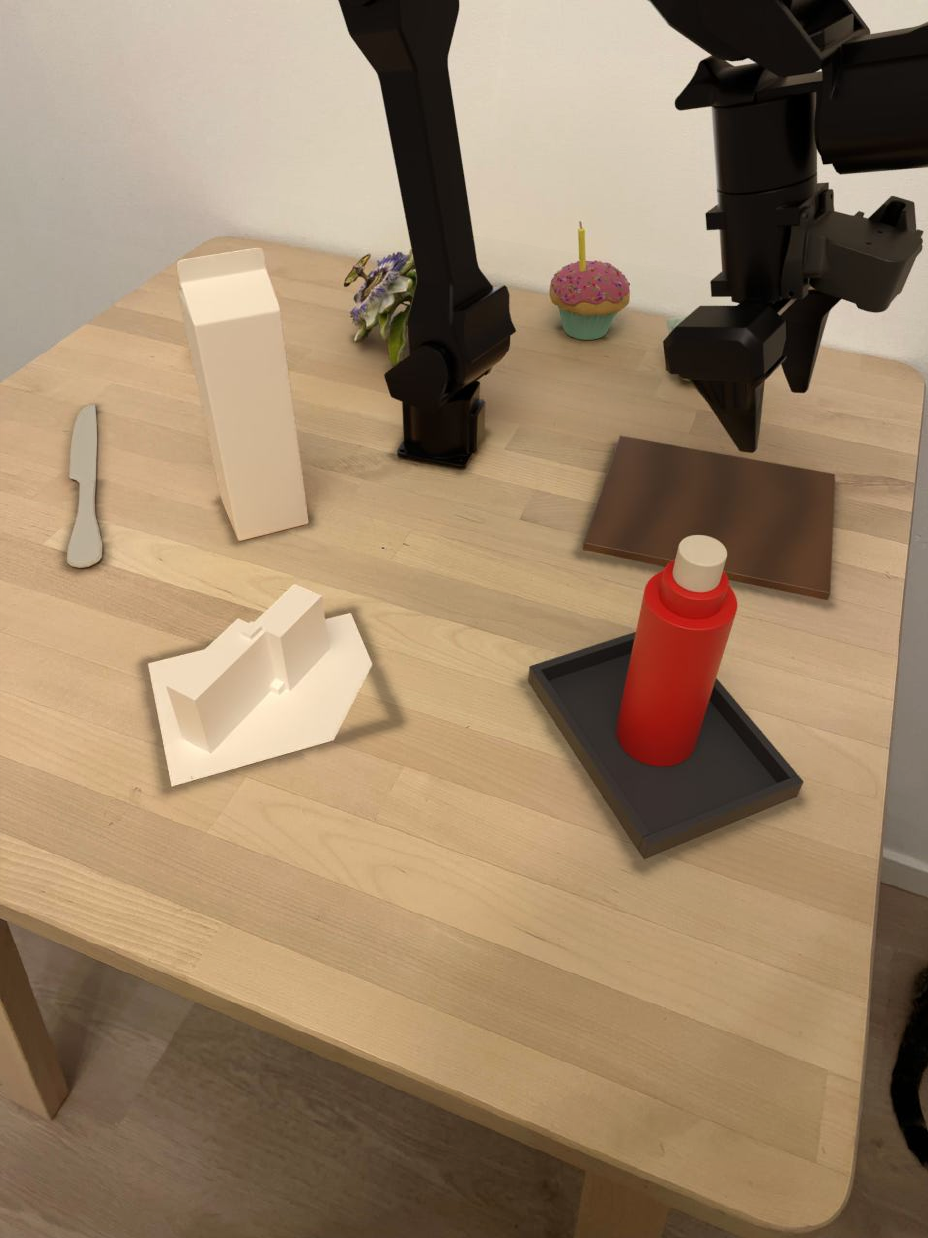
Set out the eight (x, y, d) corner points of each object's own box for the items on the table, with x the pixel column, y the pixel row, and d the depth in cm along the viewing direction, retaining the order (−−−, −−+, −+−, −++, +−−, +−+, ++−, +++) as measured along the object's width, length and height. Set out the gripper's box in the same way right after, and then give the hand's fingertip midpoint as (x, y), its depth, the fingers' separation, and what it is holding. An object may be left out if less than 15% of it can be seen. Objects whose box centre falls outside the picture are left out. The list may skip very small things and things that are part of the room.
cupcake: (572, 355, 98) (584, 241, 89) (531, 320, 103) (539, 209, 95) (640, 337, 101) (657, 225, 92) (596, 304, 106) (609, 196, 97)
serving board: (581, 554, 75) (583, 542, 74) (618, 446, 86) (619, 435, 85) (825, 604, 71) (830, 593, 70) (831, 484, 82) (835, 473, 81)
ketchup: (609, 755, 60) (647, 570, 49) (623, 697, 64) (661, 511, 52) (690, 776, 59) (747, 591, 48) (700, 715, 63) (756, 529, 51)
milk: (309, 524, 77) (277, 265, 62) (237, 542, 75) (185, 280, 60) (289, 483, 81) (253, 229, 66) (219, 499, 79) (166, 242, 64)
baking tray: (527, 685, 65) (529, 665, 64) (664, 640, 68) (668, 620, 67) (642, 863, 55) (647, 845, 54) (795, 800, 58) (804, 781, 57)
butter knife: (61, 567, 72) (101, 561, 73) (72, 404, 89) (104, 400, 89) (63, 571, 72) (102, 565, 73) (74, 408, 89) (106, 404, 89)
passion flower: (368, 384, 103) (340, 273, 101) (464, 361, 103) (438, 249, 101) (360, 376, 92) (329, 251, 90) (467, 350, 92) (438, 225, 90)
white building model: (172, 789, 58) (151, 732, 54) (145, 664, 66) (126, 605, 62) (399, 721, 62) (395, 663, 58) (350, 611, 70) (344, 553, 66)
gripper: (852, 222, 45) (849, 501, 54) (956, 123, 56) (939, 369, 65) (646, 233, 52) (673, 480, 61) (775, 143, 63) (782, 363, 72)
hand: (774, 420), depth 64 cm, fingers open, 9 cm apart
